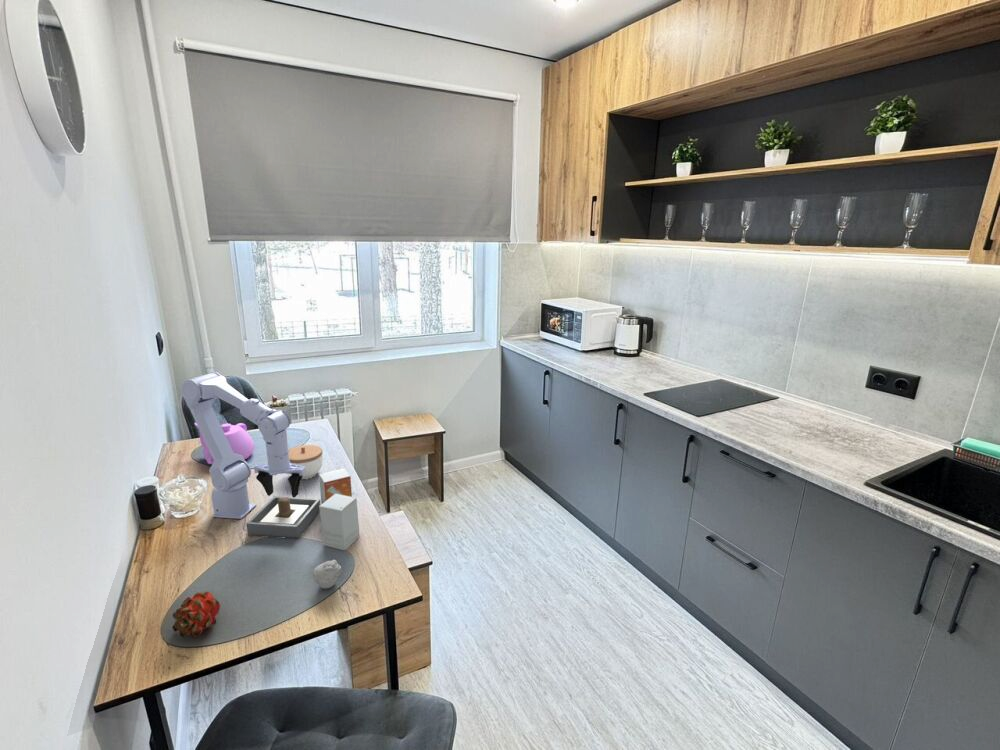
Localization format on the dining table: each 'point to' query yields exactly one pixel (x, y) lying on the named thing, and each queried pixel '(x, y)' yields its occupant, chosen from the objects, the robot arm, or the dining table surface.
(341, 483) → the small box
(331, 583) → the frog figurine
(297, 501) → the square hole block
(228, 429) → the teapot
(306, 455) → the lidded bowl
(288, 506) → the peg
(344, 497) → the supplement box
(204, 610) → the dragon fruit
